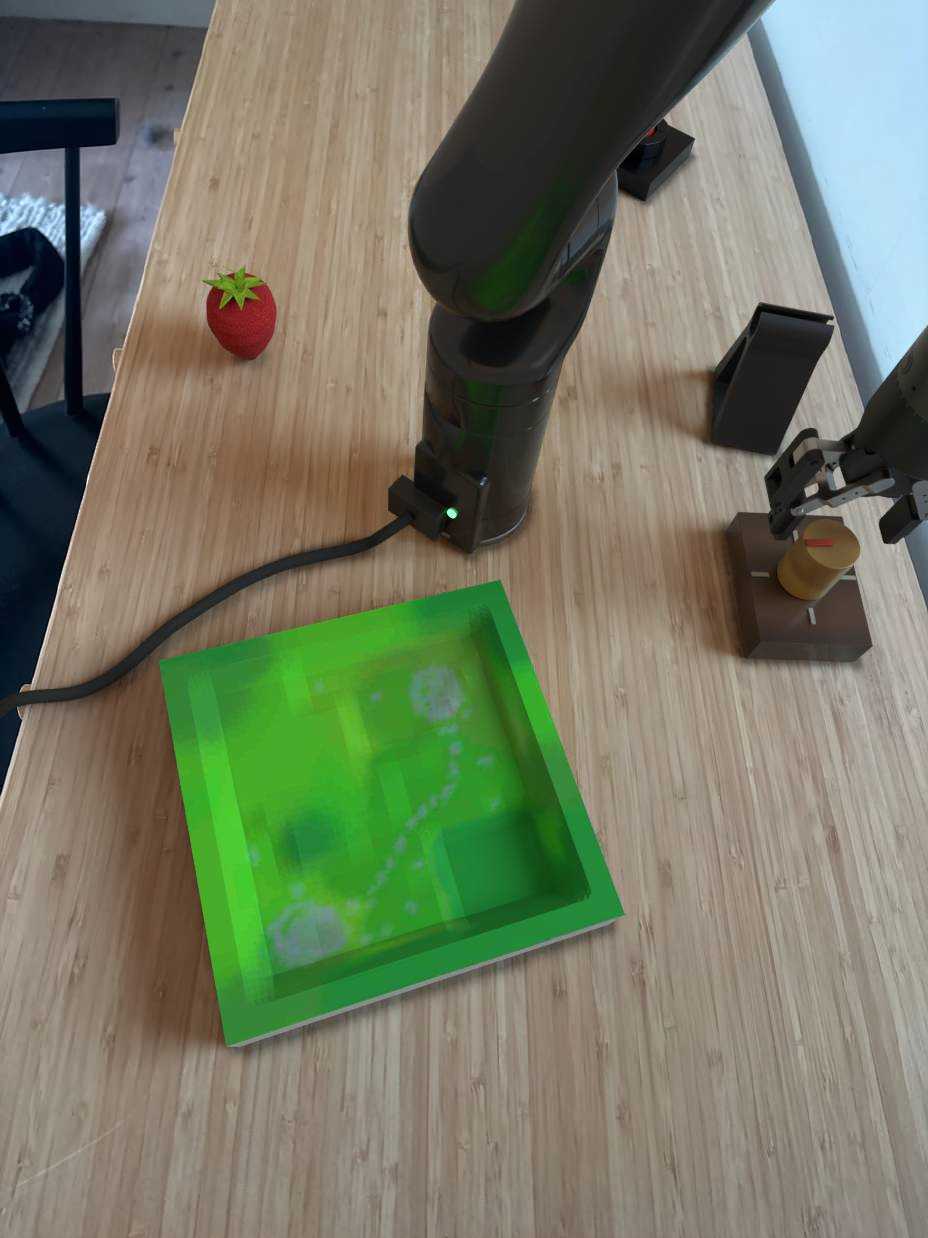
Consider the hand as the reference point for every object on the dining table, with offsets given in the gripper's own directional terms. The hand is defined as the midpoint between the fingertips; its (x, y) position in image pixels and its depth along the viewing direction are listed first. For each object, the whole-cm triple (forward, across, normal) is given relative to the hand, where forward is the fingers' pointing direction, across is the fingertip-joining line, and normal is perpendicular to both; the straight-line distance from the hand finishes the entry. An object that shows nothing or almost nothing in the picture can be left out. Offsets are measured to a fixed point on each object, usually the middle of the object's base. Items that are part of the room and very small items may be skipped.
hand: (831, 532), depth 65 cm
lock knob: (+5, 0, -1) cm, 6 cm away
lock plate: (+8, 0, -1) cm, 9 cm away
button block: (+9, -7, +54) cm, 55 cm away
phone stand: (+9, 0, +18) cm, 20 cm away
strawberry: (+10, -46, +23) cm, 52 cm away
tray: (+9, -33, -18) cm, 39 cm away
